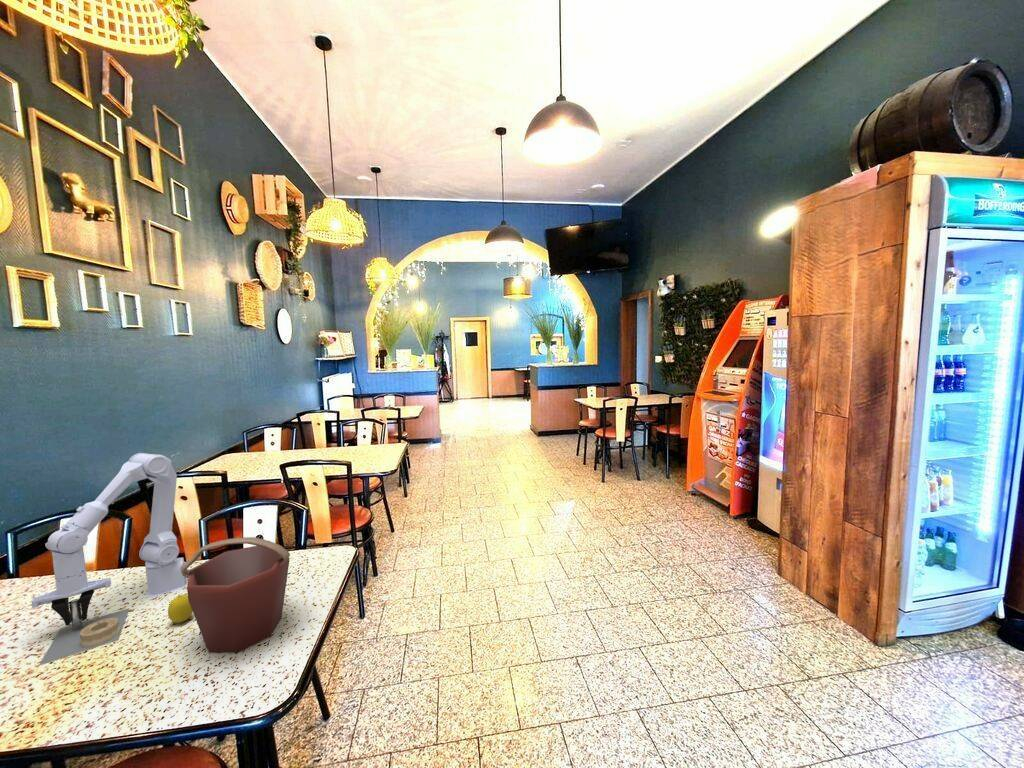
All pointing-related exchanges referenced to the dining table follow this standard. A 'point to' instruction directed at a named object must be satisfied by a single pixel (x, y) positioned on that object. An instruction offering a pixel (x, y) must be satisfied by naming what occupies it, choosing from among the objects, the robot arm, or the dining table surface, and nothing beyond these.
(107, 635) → the maple bead
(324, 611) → the dining table surface
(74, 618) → the steel peg
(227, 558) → the bucket
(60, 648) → the mat
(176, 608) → the lemon
